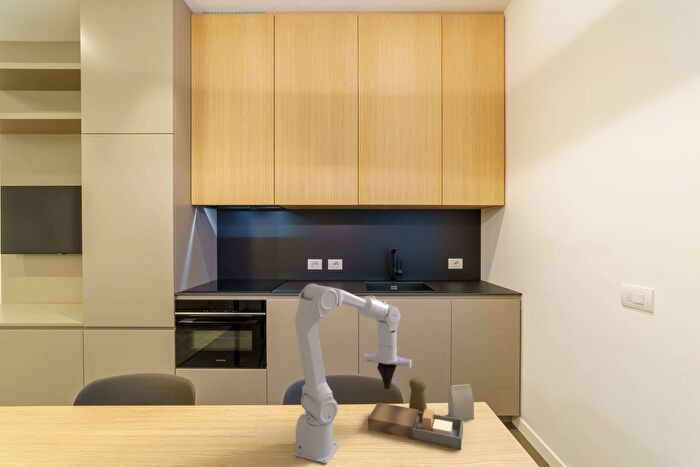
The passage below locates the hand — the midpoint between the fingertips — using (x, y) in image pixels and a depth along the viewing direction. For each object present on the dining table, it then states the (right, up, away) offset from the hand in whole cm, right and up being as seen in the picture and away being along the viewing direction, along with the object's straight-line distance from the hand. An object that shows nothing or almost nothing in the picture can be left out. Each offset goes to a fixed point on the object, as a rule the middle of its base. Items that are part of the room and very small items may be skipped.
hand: (387, 387), depth 105 cm
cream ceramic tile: (+15, -7, -7) cm, 18 cm away
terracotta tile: (+10, -7, -5) cm, 14 cm away
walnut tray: (+2, -10, -2) cm, 11 cm away
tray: (+14, -10, -7) cm, 19 cm away
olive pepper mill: (+10, -11, +5) cm, 15 cm away
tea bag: (+23, -11, +2) cm, 26 cm away
